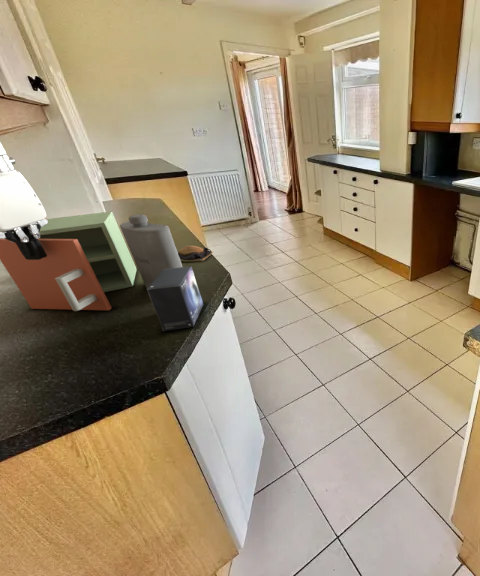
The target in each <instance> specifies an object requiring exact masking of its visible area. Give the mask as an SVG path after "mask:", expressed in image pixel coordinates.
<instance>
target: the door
mask: <svg viewBox="0 0 480 576" xmlns="http://www.w3.org/2000/svg"><path fill="white" fill-rule="evenodd" d="M38 240H39V242H40V243H41V245H42V247H43V249H44V251H45V253H46V254H47V257H45V258H42V259H40V260H27V259H25V257H24V256H23V255H22V253H21V251H20V250H19V248H18V246H17V245H16V243H12V242H10V241H9V240H7V239H0V262H1V264H2V265H3V267H4V269H5V270H6V272H7V273H8V274H9V276H10V278H11V280H12V281H13V282H14V284H15V286H16V287H17V288H18V290H19V292H20V293H21V295H22V297H23V298H24V299H25V301H26V303H27V305H29V307H30V309H31V310H34V309H35V310H65V311H66V310H70V311H71V310H72V311H73V312H78V311H110V310H111V309H112V308H113V307H112V305H111V304H110V301H109V299H108V297H107V296H106V293H105V292H103V290H102V288H101V286H100V284H99V282H98V280H97V278H96V276H95V274H94V272H93V270H92V268H91V266H90V264H89V262H88V260H87V258H86V256H85V254H84V252H83V250H82V248H81V246H80V244H79V242H78V240H77V239H38Z"/></svg>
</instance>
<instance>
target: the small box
mask: <svg viewBox="0 0 480 576" xmlns="http://www.w3.org/2000/svg"><path fill="white" fill-rule="evenodd" d="M146 291H147V295H148V297H149V298H150V301H151V304H152V306H153V309H154V311H155V313H156V316H157V318H158V321H159V324H160V326H161V329H162V332H168V331H174V330H181V329H189V328H193V327H195V325H196V323H197V321H198V318H199V315H200V314H201V311H202V308H203V306H204V302H203V298H202V296H201V291H200V289H199V286H198V283H197V280H196V277H195V273H194V270H193V267H192V266H183V267H181V268H169V269H162V271H161V272H160V273H159V275H158V276H157V277H156V278H155V279H154V281H153V282H152V283H151V284H150V286H149V287H148V288H146Z"/></svg>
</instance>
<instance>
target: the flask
mask: <svg viewBox="0 0 480 576" xmlns="http://www.w3.org/2000/svg"><path fill="white" fill-rule="evenodd" d="M119 229H120V231H121V233H122V236H123V238H124V240H125V243H126V245H127V247H128V250H129V252H130V254H131V257H132V259H133V261H134V264H135V266H136V268H137V271H138V273H139V274H140V277H141V280H142V282H143V284H144V286H145V288H146V289H147V288H148V287H149V286H150V284H151V283H152V282H153V281H154V279H155V278H156V277H157V276H158V275H159V273H160V272H161V271H162V269H169V268H181V267H184V266H183V264H182V261H180V258H179V255H178V253H179V252H178V249H177V247H176V244H175V241H174V238H173V236H172V233H171V229H170V227H169V226H168V225H165V224H158V223H151V222H149V219H148V217H147V215H145V214H144V213H143V214H142V213H141V214H138V213H137V214H132V215H130V216H129V218H128V221H124V222H122V223H121V224H119Z"/></svg>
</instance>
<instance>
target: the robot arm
mask: <svg viewBox="0 0 480 576" xmlns="http://www.w3.org/2000/svg"><path fill="white" fill-rule="evenodd" d="M15 164H16V159H14V158H13V157H12V156H11V157H9V155H8V154H7V152H6V150H5V148H4V147H3V144H2V143H1V141H0V231H2V232H0V239H7V240H9V241H10V242H12V243H16V245H17V246H18V248H19V250H20V251H21V253H22V255H23V256H24V257H25V259H27V260H40V259H42V258H45V257H47V254H46V253H45V251H44V249H43V247H42V245H41V243H40V242H39V240H38V239H39V238H40V234H39V232H40V229H41V227H43V226H45V225H46V224H48V221H47V219H48V218H47V212H46V209H45V208H44V207H45V206H44V205H43V203H42V201H41V200H40V198H39V197H38V195H37V194H36V192H35V191H34V189H33V187H32V186H31V184H30V183H29V182H28V181H27V179H26V178H25V177H24V176H23V174H21V172H20V171H18V170H16V168H15V167H14V165H15ZM46 218H47V219H46ZM13 232H14V233H13Z"/></svg>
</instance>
